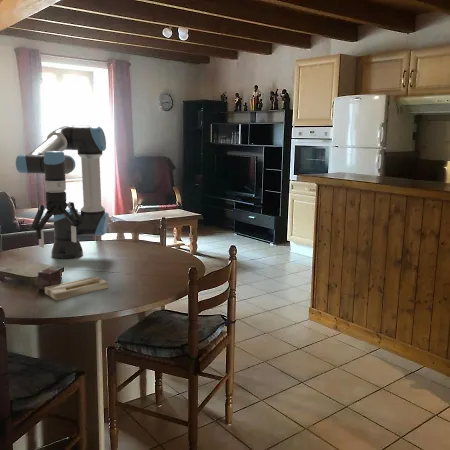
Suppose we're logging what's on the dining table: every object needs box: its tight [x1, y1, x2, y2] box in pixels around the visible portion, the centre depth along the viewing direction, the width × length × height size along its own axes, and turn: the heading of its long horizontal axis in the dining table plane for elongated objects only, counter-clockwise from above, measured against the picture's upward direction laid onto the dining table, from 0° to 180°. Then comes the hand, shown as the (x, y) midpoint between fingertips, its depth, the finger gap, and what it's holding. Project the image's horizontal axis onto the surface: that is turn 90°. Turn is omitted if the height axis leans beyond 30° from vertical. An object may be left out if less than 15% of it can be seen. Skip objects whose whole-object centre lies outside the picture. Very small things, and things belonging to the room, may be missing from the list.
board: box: [44, 275, 109, 301], centre depth 189 cm, size 10×22×3 cm, turn 134°
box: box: [37, 267, 61, 291], centre depth 191 cm, size 6×6×7 cm
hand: (58, 244), depth 189 cm, fingers open, 13 cm apart
